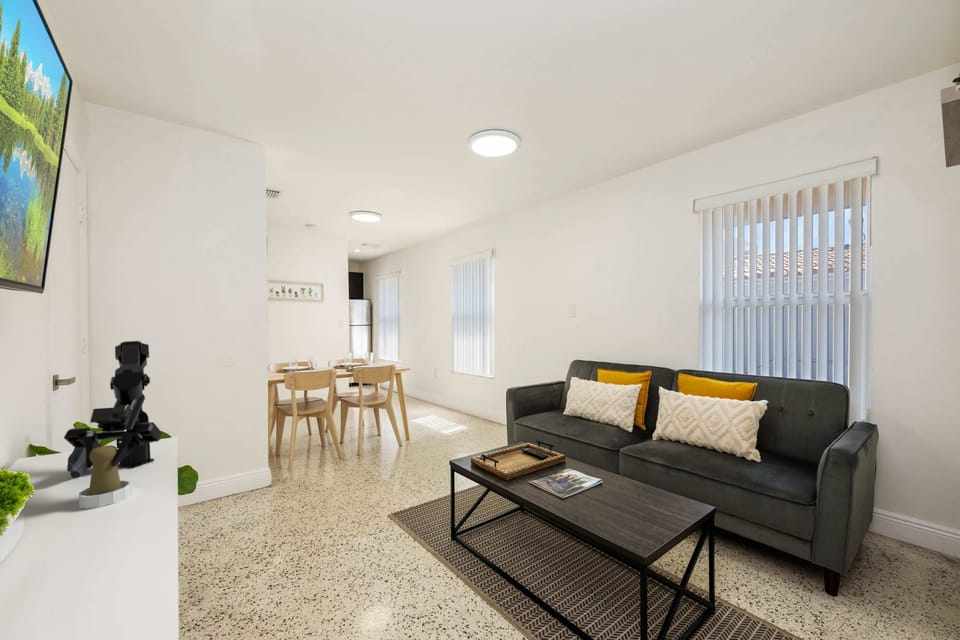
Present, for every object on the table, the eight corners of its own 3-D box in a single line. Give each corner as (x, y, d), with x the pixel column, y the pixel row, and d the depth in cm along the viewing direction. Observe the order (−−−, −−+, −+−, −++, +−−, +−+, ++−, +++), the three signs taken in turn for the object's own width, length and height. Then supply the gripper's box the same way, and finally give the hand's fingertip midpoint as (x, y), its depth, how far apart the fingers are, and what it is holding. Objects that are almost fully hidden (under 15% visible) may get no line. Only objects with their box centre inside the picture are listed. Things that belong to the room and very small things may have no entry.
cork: (84, 498, 98) (82, 452, 98) (93, 489, 103) (91, 445, 103) (117, 493, 101) (115, 448, 100) (124, 484, 106) (123, 441, 106)
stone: (68, 472, 121) (66, 438, 121) (96, 466, 126) (94, 433, 125) (67, 485, 111) (65, 448, 111) (98, 478, 116) (96, 443, 116)
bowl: (114, 489, 108) (114, 478, 108) (140, 493, 105) (139, 482, 105) (69, 506, 99) (69, 494, 99) (96, 510, 96) (95, 498, 96)
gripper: (67, 396, 103) (33, 455, 92) (153, 391, 107) (130, 447, 97) (90, 420, 111) (61, 476, 100) (170, 414, 115) (150, 467, 105)
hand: (100, 466), depth 100 cm, fingers closed on cork, 5 cm apart
